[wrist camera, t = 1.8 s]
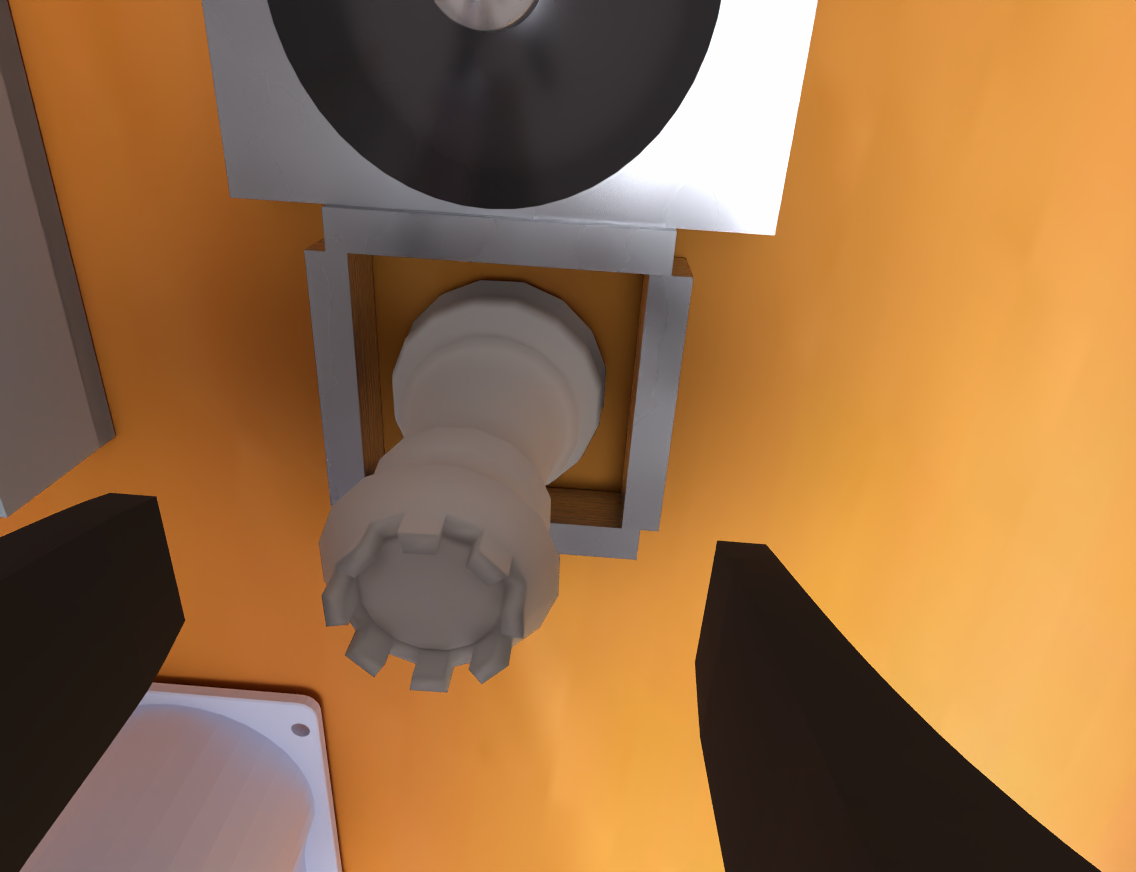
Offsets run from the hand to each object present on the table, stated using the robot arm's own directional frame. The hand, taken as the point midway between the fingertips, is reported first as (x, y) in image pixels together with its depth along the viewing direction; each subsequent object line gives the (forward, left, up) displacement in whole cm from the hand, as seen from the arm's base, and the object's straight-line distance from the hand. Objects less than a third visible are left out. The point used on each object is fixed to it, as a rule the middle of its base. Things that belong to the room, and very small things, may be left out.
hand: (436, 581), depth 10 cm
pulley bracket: (+4, 0, -7) cm, 8 cm away
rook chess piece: (0, 0, -8) cm, 8 cm away
